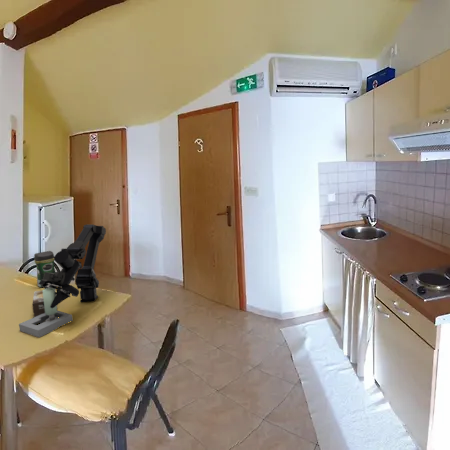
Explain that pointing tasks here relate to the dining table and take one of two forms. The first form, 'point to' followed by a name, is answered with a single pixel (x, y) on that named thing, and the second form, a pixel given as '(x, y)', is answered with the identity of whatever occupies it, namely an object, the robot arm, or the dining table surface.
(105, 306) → the dining table surface
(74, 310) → the dining table surface
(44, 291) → the peg
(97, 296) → the robot arm
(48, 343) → the dining table surface
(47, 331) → the keyhole plate
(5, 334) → the dining table surface
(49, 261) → the coffee jar
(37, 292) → the coffee box
